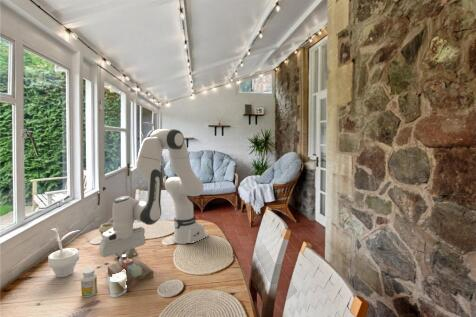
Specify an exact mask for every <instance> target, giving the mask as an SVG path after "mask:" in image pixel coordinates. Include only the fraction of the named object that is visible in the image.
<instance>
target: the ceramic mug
mask: <svg viewBox="0 0 476 317" xmlns="http://www.w3.org/2000/svg"><path fill="white" fill-rule="evenodd" d="M125 253H126V251H123V252H122V254H121V255H125ZM137 253H138V249H136V248H133V249H130V252H129V254H128V259H130V258H133V256H134V255H136V254H137ZM114 255H115V256H117V257H119V258H120V256H119V255H118V253H116V254H114Z"/></svg>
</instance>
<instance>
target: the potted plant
mask: <svg viewBox="0 0 476 317" xmlns="http://www.w3.org/2000/svg"><path fill="white" fill-rule="evenodd" d="M60 229H61V228H60V227H59V226H58V224H57V225H56V227H54V228H50V231H53V232H54V233H55V234H54V236H53V238H54V239H55V241H56V242H58V243H57V244H58V247H59V250H56V251H54V252H51V253H50V254H49V255H48V256H47V257H48V258H47V260H48V267H49V268H50V269H52V271H53V273H54V275H55V276H56V277H57V278H65V277H68V276H71V275H72V273H73V272H74V270H75V267H76V265H77V262H78V261H79V260H80V251H79V250H78V248H74V247H67V248H64V247H63V243H62V241H64V240H65V239H67V238H68V237H69V236H71V235H73V234H74V233H77V232H80V231H81V229H78V230H73V231H69V232H68V233H67V234H65V235H63V236H61V235H59V230H60Z"/></svg>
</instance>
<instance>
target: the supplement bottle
mask: <svg viewBox="0 0 476 317" xmlns="http://www.w3.org/2000/svg"><path fill="white" fill-rule="evenodd" d="M97 282H98V280H97V274H96V273H95V268H93V267H90V268H85V269H84V270H83V271H82V277H81V278H80V290H81V291H80V292H81V296H82V297H83V298H91V297H93V296H94V295H96V294H97V293H98V284H97Z"/></svg>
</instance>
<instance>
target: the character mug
mask: <svg viewBox="0 0 476 317" xmlns="http://www.w3.org/2000/svg"><path fill="white" fill-rule="evenodd" d="M111 228H113V222H106V223H102V224H101V225H100V227H99V228H98V229H99V230H98V231H99V233H100V236H101V237H102V233H104V232H106V231H108V230H109V229H111Z"/></svg>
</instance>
